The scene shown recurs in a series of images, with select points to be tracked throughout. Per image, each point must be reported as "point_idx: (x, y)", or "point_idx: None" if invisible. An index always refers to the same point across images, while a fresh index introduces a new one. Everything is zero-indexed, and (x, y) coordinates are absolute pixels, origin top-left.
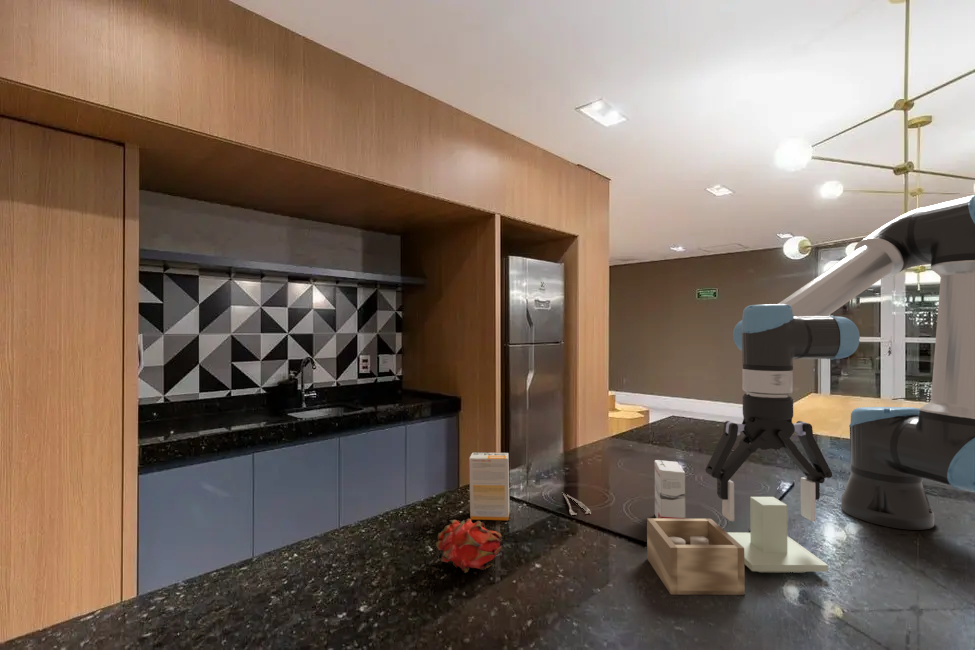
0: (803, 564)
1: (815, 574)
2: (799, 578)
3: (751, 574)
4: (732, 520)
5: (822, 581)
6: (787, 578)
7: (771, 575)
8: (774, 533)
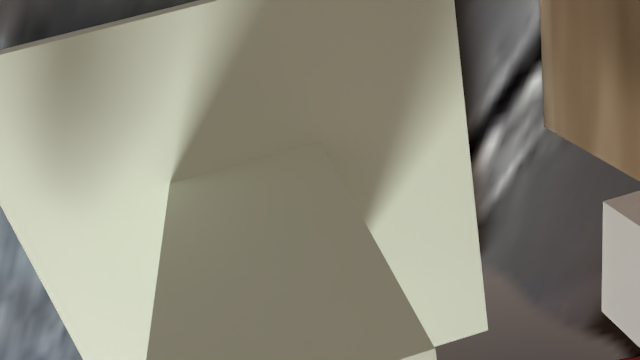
0: (105, 35)
1: None
2: None
3: None
4: (620, 199)
5: (11, 20)
6: None
7: None
8: (263, 219)
